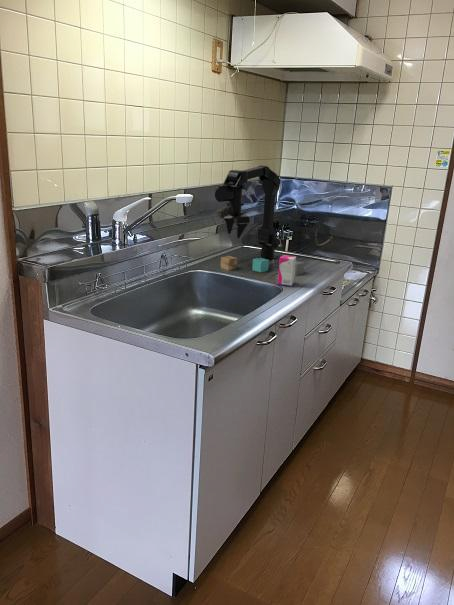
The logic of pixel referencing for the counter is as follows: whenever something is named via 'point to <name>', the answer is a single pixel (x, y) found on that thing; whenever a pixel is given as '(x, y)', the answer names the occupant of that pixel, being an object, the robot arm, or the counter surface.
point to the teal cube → (260, 265)
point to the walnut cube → (228, 263)
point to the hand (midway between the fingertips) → (233, 235)
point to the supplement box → (286, 270)
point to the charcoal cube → (299, 268)
